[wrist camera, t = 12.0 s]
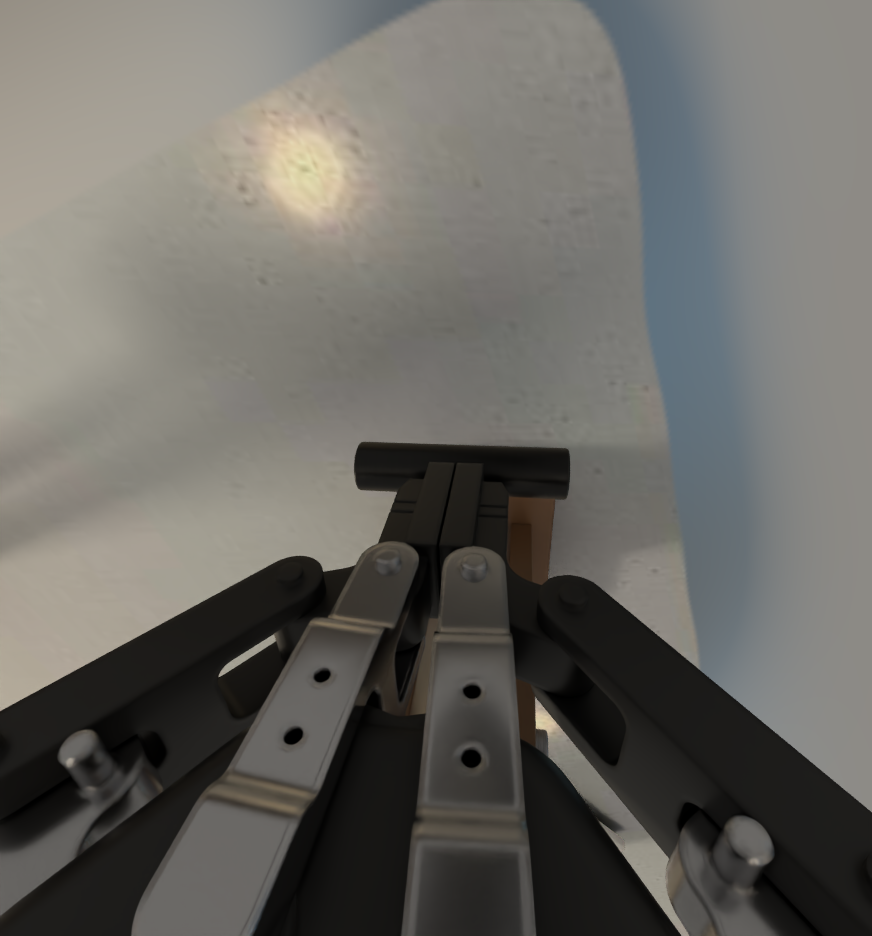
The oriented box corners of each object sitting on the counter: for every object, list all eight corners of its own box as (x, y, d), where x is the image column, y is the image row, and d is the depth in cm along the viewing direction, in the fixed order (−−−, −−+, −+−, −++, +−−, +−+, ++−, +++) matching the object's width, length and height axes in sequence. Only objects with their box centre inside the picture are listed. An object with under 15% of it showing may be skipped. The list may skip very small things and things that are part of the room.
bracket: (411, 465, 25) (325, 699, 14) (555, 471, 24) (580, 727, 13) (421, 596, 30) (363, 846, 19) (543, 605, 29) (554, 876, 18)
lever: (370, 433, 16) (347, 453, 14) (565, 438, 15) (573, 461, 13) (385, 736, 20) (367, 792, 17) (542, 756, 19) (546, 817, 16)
